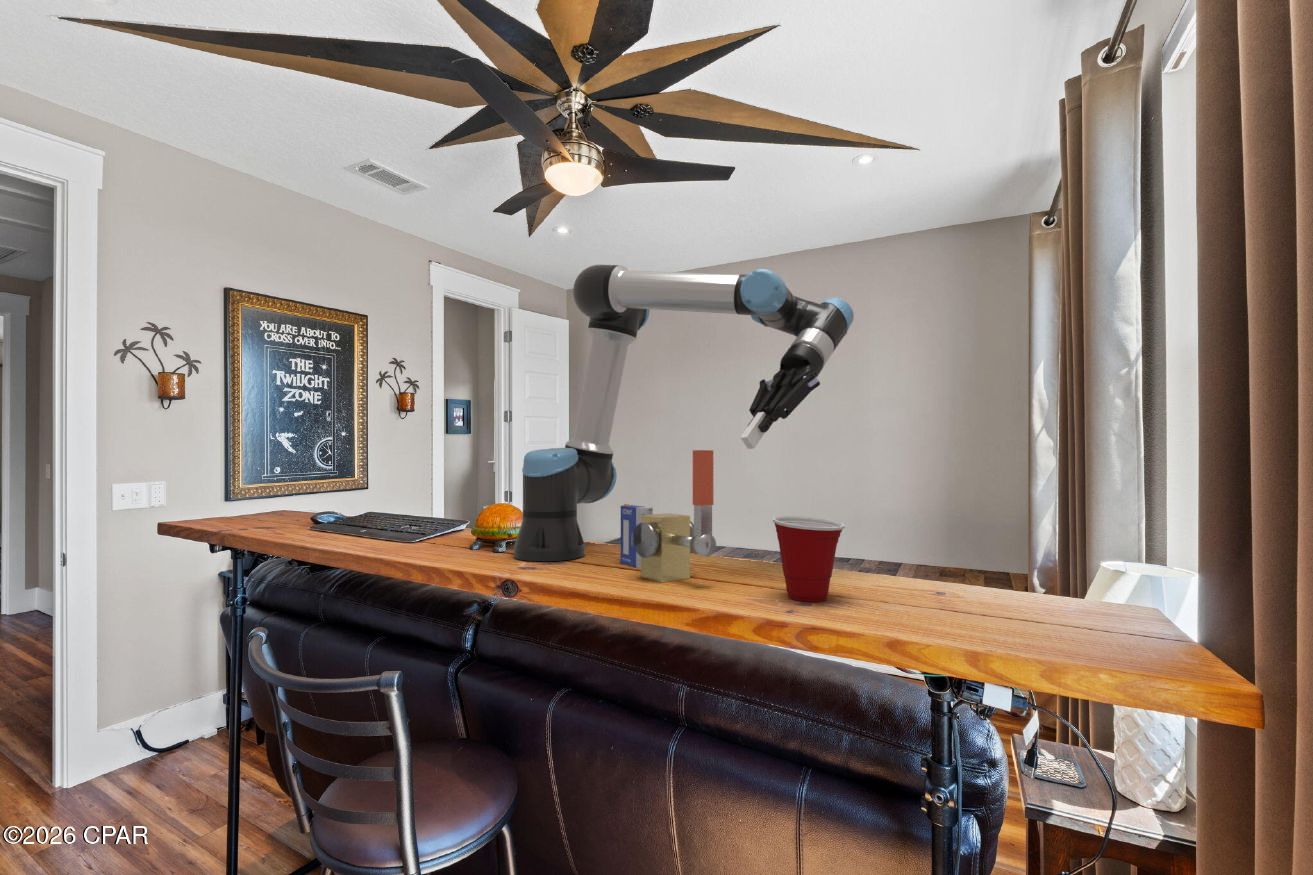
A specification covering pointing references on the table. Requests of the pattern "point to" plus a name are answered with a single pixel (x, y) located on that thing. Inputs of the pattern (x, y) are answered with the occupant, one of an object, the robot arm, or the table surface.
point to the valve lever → (703, 503)
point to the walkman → (631, 533)
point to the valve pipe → (664, 546)
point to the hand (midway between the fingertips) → (747, 442)
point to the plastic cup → (807, 555)
